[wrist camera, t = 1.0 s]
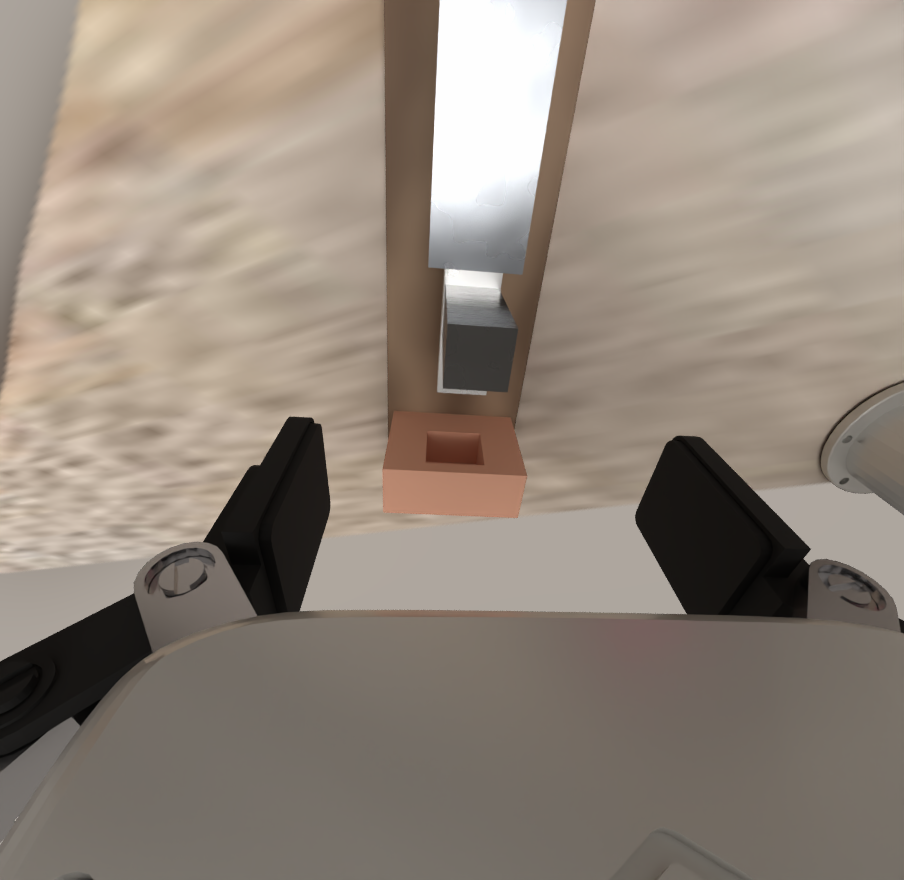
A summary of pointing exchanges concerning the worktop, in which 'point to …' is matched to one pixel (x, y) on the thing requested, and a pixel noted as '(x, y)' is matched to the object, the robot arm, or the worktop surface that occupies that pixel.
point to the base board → (410, 208)
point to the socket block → (453, 465)
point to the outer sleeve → (490, 128)
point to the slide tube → (474, 334)
